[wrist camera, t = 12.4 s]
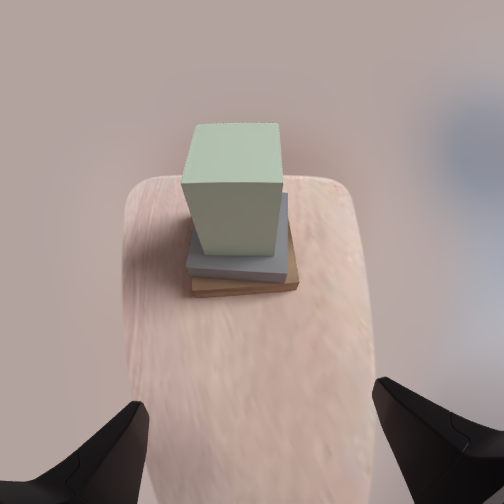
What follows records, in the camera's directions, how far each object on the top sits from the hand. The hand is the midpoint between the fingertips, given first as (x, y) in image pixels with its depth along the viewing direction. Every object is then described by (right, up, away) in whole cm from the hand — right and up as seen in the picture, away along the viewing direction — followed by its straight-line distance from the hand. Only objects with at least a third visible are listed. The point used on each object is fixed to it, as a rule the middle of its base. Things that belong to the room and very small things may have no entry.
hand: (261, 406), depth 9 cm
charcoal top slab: (-1, +7, +16) cm, 17 cm away
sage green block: (-1, +8, +14) cm, 16 cm away
